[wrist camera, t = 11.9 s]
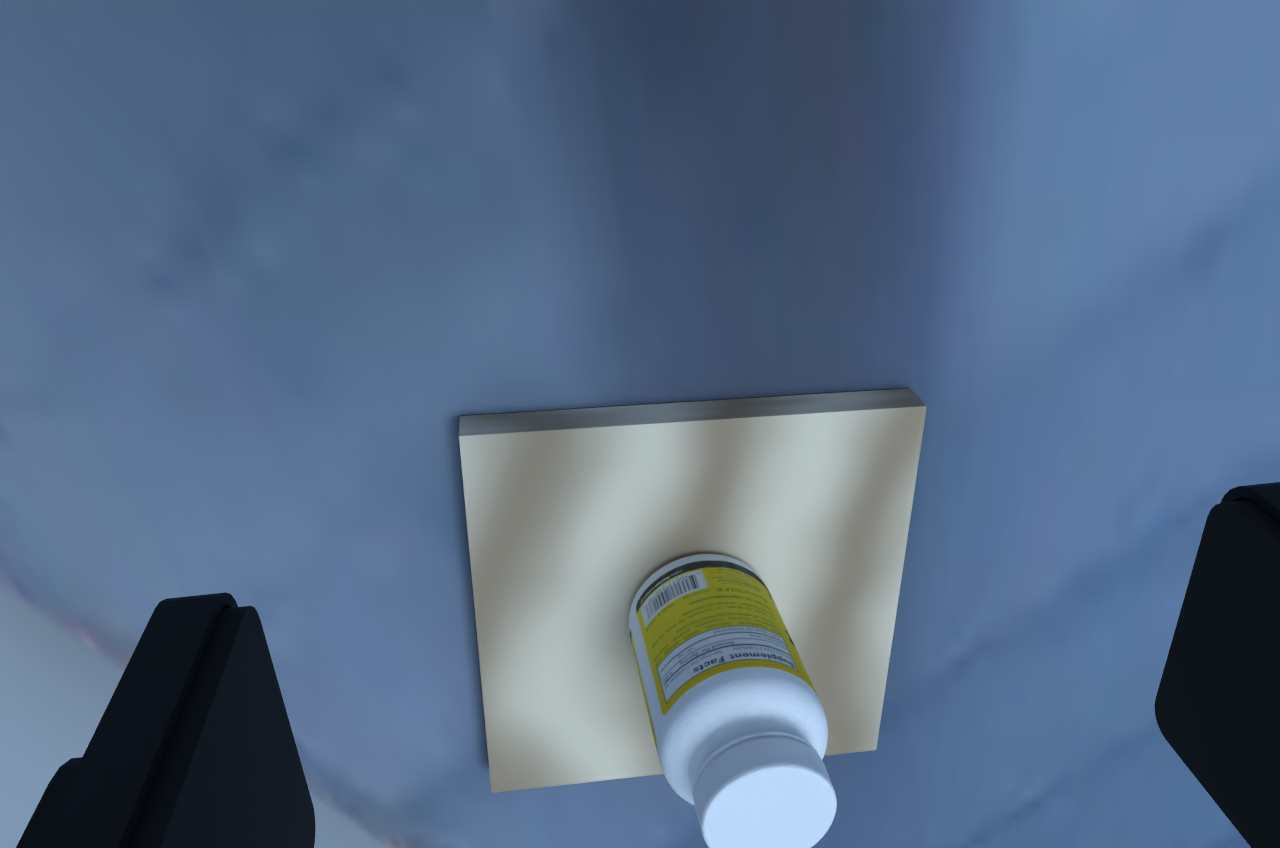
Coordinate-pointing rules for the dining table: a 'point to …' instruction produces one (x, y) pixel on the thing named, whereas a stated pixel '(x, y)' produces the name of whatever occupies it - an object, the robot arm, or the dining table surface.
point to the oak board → (677, 557)
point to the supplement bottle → (731, 705)
